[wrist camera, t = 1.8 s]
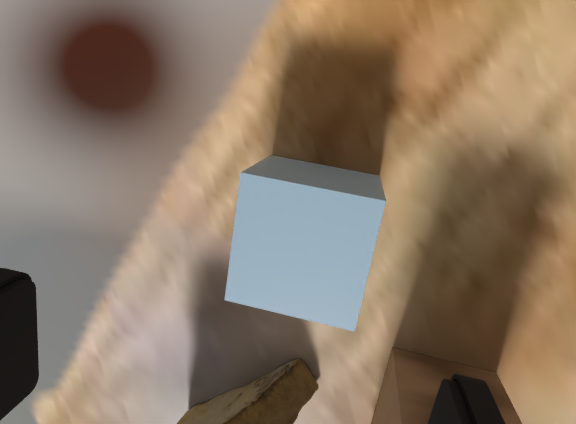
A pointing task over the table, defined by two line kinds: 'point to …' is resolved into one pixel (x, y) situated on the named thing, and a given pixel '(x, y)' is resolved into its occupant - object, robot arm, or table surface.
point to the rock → (259, 399)
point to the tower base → (427, 388)
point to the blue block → (304, 240)
